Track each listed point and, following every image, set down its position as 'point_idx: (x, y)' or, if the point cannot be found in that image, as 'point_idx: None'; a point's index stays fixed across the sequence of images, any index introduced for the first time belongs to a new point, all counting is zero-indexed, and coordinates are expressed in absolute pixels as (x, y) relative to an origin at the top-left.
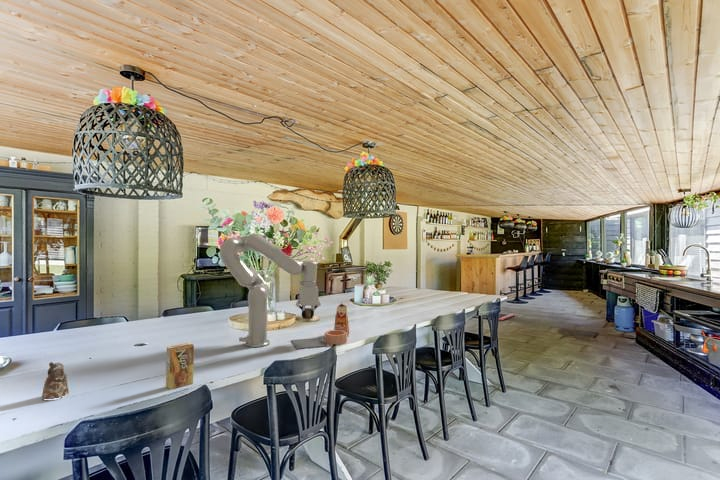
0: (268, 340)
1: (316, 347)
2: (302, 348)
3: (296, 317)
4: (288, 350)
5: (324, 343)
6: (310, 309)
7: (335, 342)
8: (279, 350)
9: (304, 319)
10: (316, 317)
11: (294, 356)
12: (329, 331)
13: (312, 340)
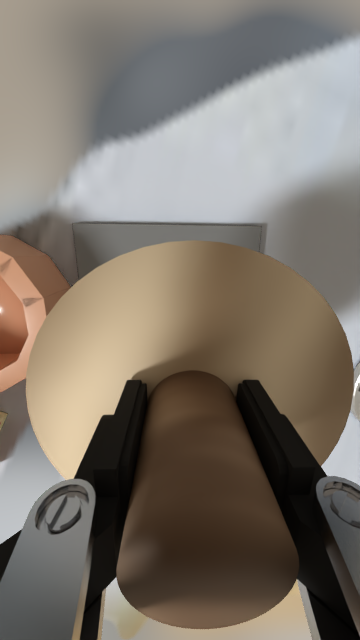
0: (357, 394)
1: (143, 225)
2: (228, 226)
3: (321, 447)
4: (307, 223)
5: (81, 270)
6: (156, 512)
7: (6, 237)
8: (350, 241)
9: (261, 329)
10: (65, 419)
11: (318, 78)
12: (8, 366)
13: None
